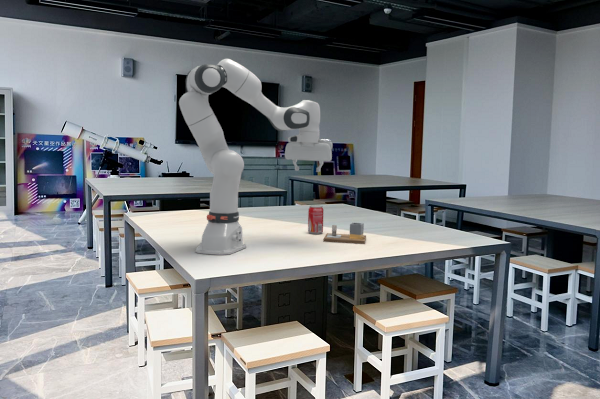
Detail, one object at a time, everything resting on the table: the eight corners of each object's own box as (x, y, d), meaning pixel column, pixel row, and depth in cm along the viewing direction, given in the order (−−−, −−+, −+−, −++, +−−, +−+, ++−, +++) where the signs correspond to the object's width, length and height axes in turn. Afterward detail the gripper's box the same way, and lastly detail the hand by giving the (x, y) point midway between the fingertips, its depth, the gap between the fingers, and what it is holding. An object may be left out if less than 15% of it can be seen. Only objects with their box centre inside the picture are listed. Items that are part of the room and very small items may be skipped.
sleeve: (360, 238, 218) (361, 225, 218) (349, 237, 220) (350, 224, 219) (363, 236, 223) (363, 223, 222) (352, 235, 225) (352, 222, 224)
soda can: (325, 233, 237) (326, 206, 235) (315, 235, 232) (316, 207, 230) (314, 231, 242) (315, 204, 240) (304, 232, 237) (305, 205, 235)
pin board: (364, 244, 214) (365, 229, 214) (323, 241, 217) (323, 227, 216) (365, 238, 228) (366, 224, 227) (326, 235, 231) (327, 222, 230)
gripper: (334, 139, 214) (332, 172, 215) (288, 138, 219) (287, 169, 220) (331, 139, 208) (329, 172, 209) (284, 137, 213) (283, 170, 214)
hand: (307, 171), depth 215 cm, fingers open, 8 cm apart
